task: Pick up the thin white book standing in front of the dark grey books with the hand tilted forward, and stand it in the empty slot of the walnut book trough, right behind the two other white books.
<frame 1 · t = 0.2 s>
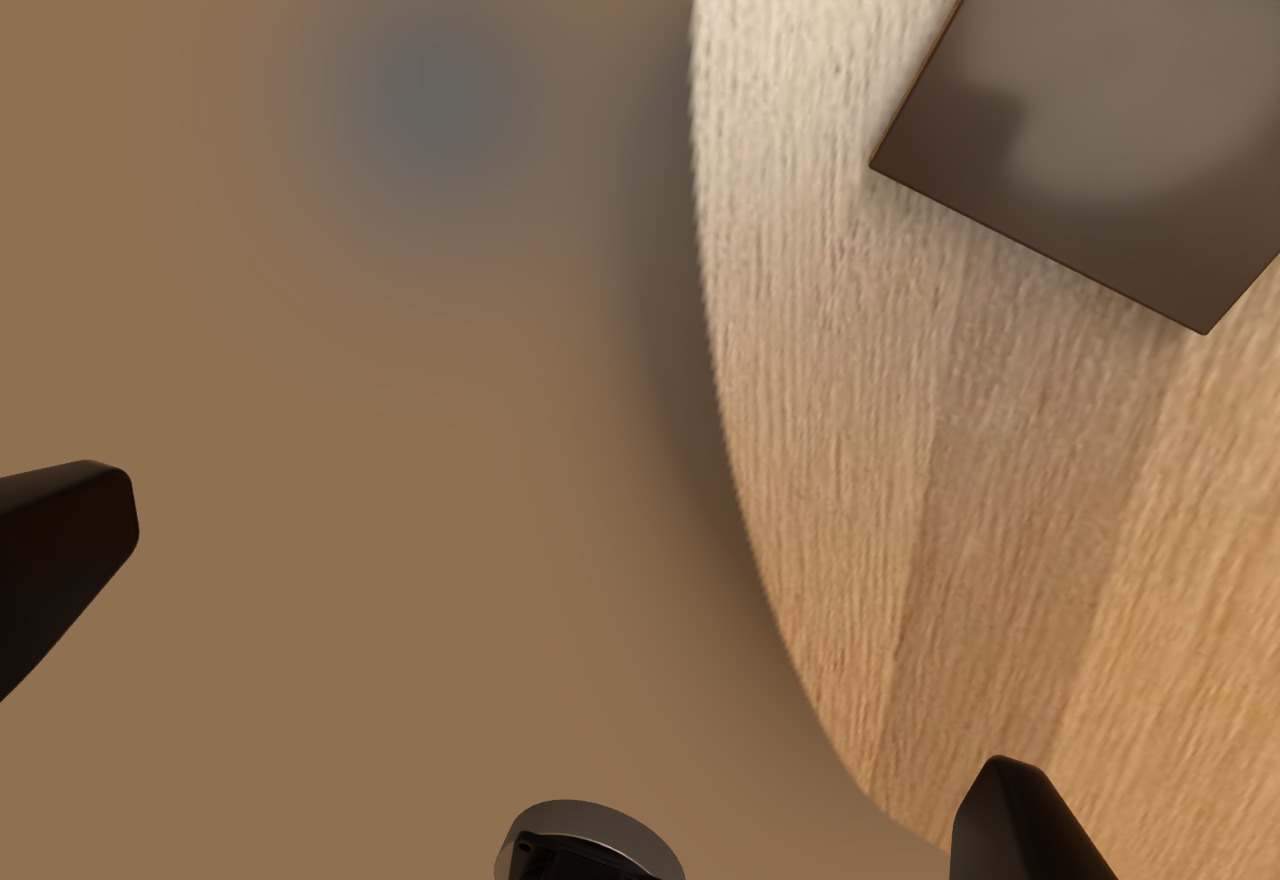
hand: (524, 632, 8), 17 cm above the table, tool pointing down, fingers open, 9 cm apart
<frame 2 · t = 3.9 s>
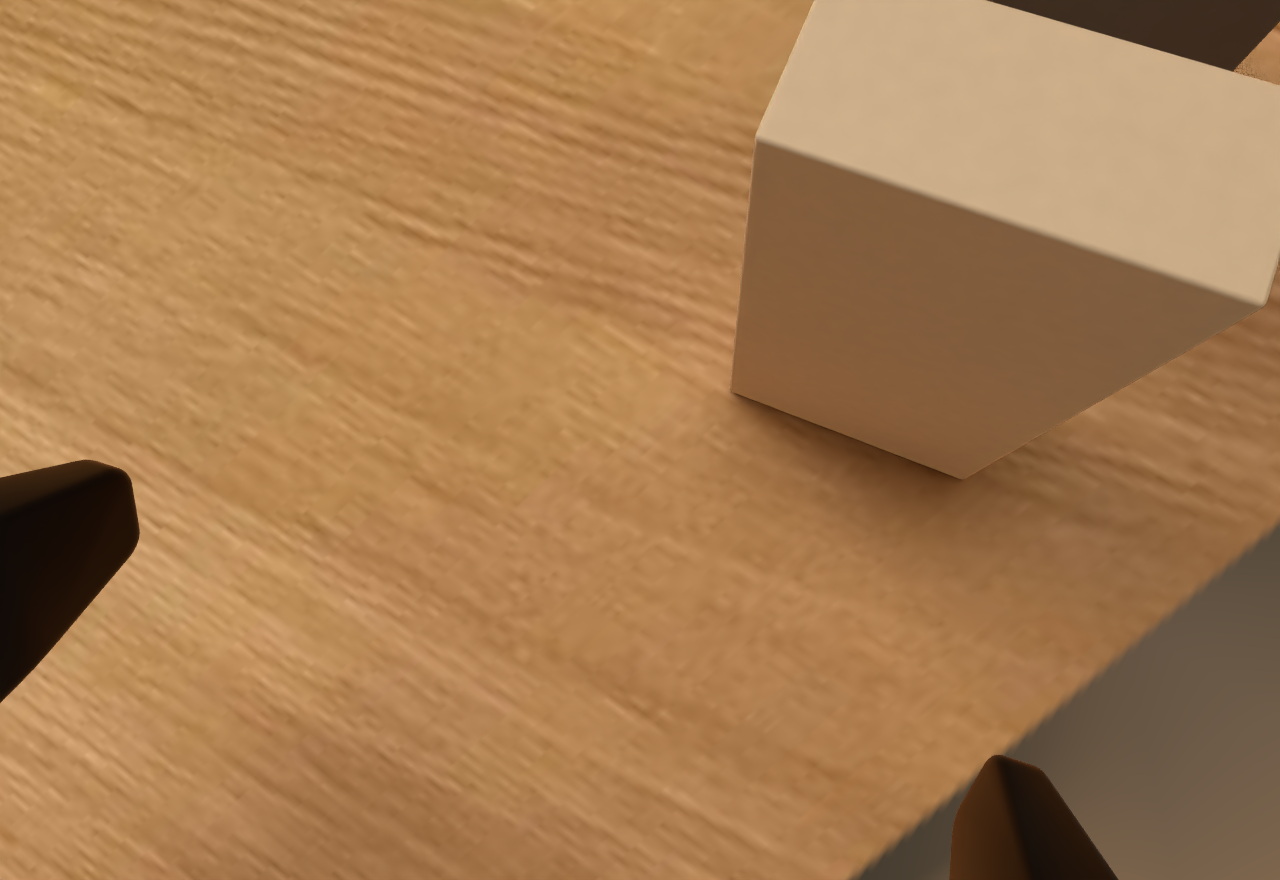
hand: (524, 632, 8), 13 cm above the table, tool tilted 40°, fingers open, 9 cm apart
grey books: (960, 132, 24), on the table
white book: (862, 384, 22), on the table
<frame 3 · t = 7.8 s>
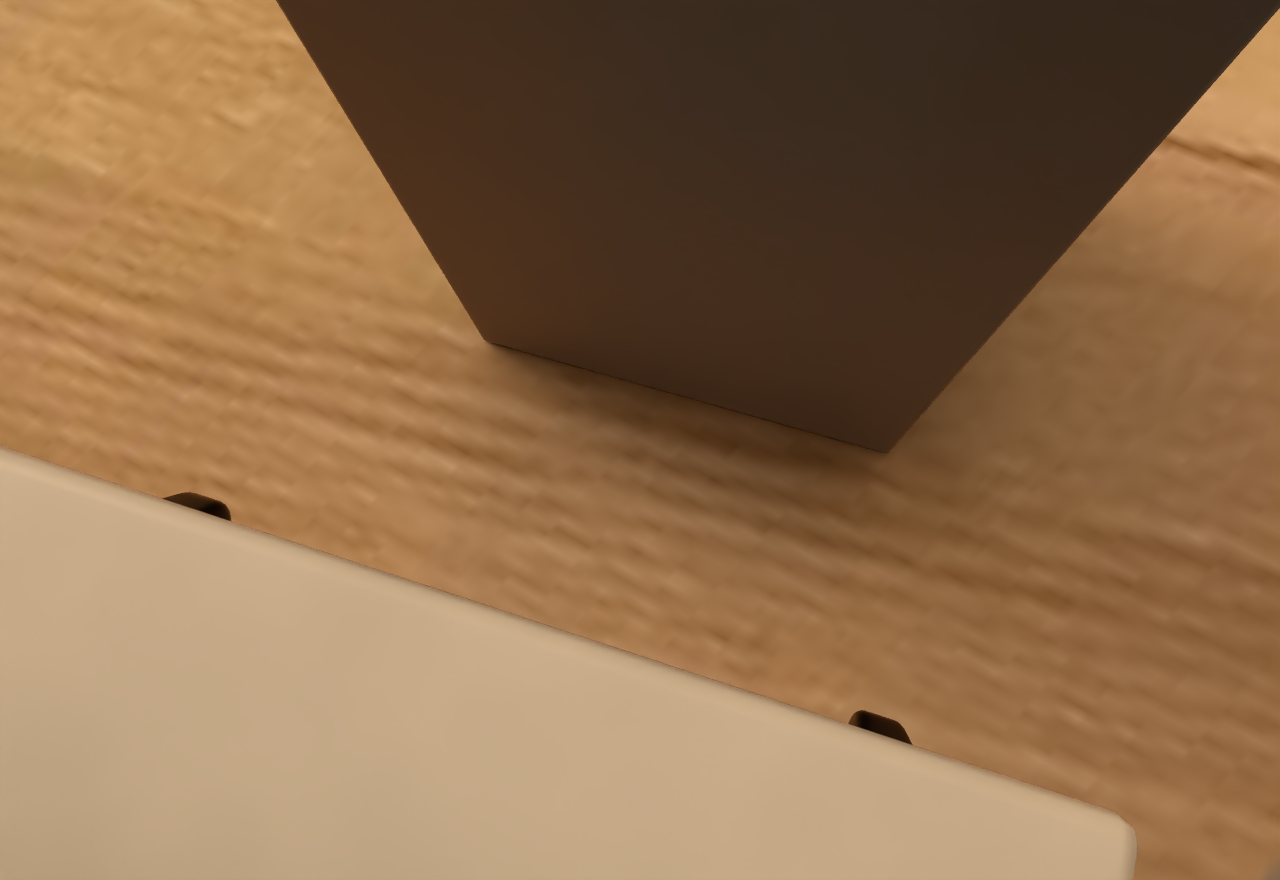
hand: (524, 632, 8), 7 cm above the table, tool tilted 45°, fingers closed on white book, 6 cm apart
grey books: (704, 316, 16), on the table
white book: (569, 731, 14), on the table, touching gripper
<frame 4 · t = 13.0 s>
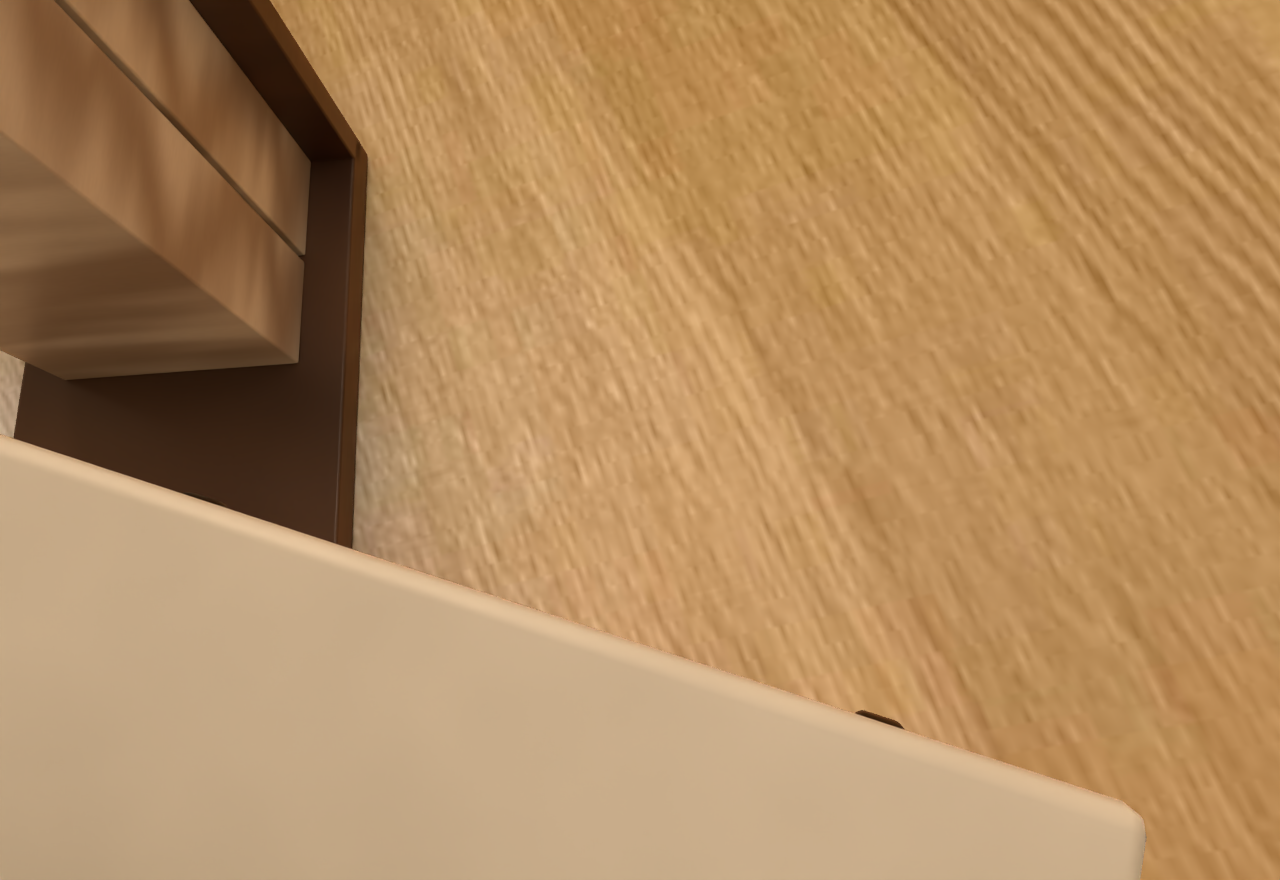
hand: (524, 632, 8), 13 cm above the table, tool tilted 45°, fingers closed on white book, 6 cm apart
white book: (571, 729, 14), point 6 cm above the table, touching gripper
book trough: (200, 401, 23), on the table
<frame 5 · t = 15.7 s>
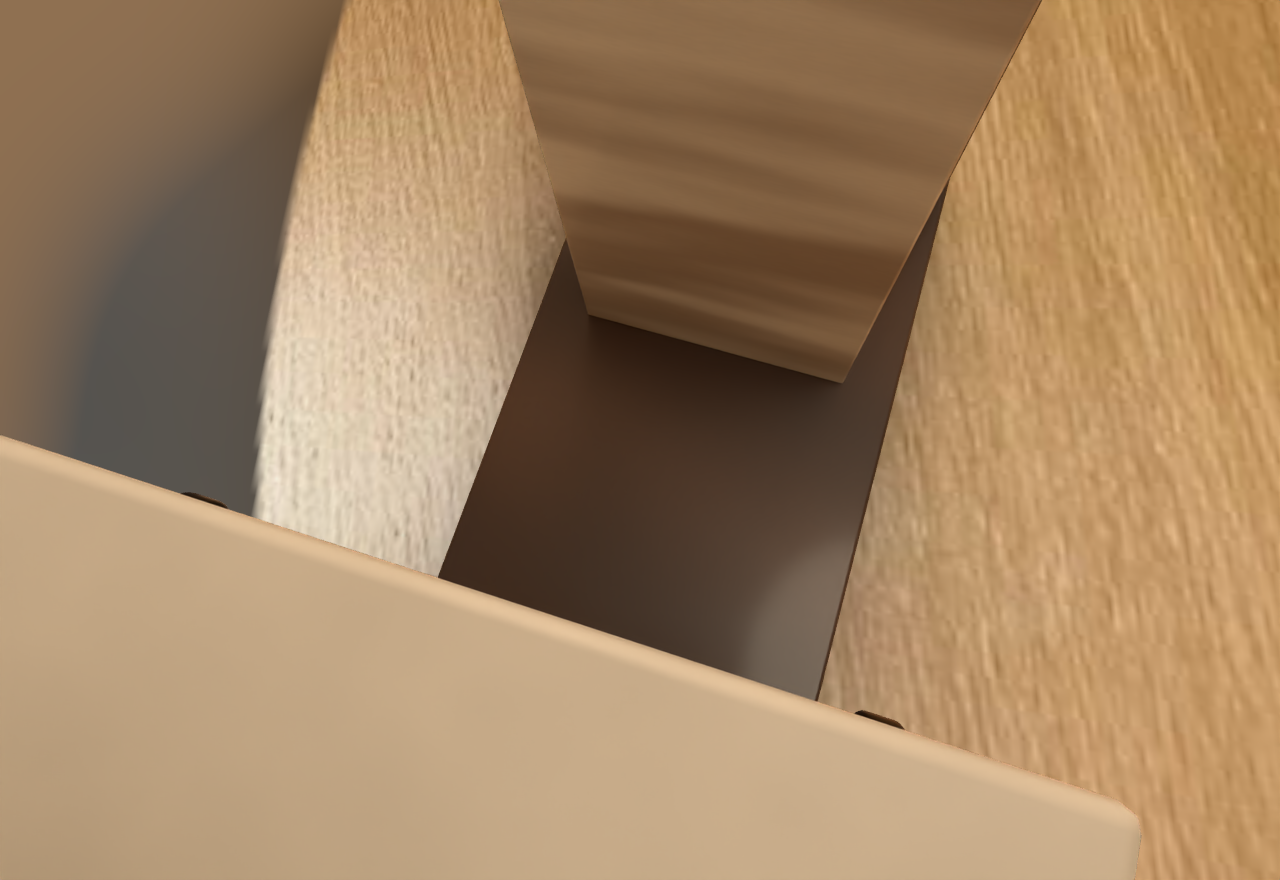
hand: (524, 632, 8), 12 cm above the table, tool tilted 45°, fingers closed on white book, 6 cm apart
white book: (570, 729, 14), point 5 cm above the table, touching gripper
book trough: (705, 381, 21), on the table
when the fingers open (8 cm above the table, at t = 18.4 s): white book stays where it is, resting on book trough.
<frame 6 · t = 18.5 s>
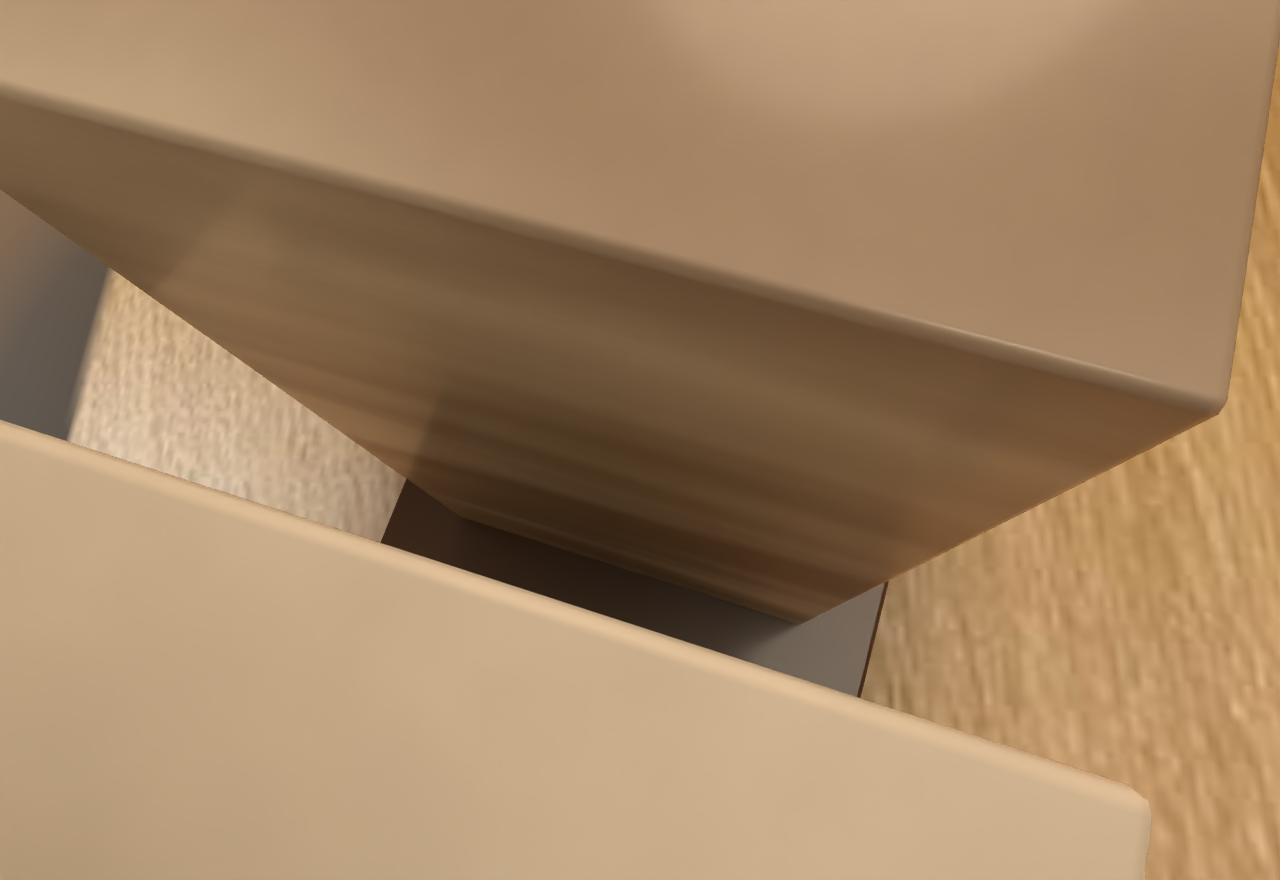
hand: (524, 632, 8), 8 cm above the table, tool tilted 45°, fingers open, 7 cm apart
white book: (567, 741, 14), point 1 cm above the table, touching book trough
book trough: (621, 601, 16), on the table
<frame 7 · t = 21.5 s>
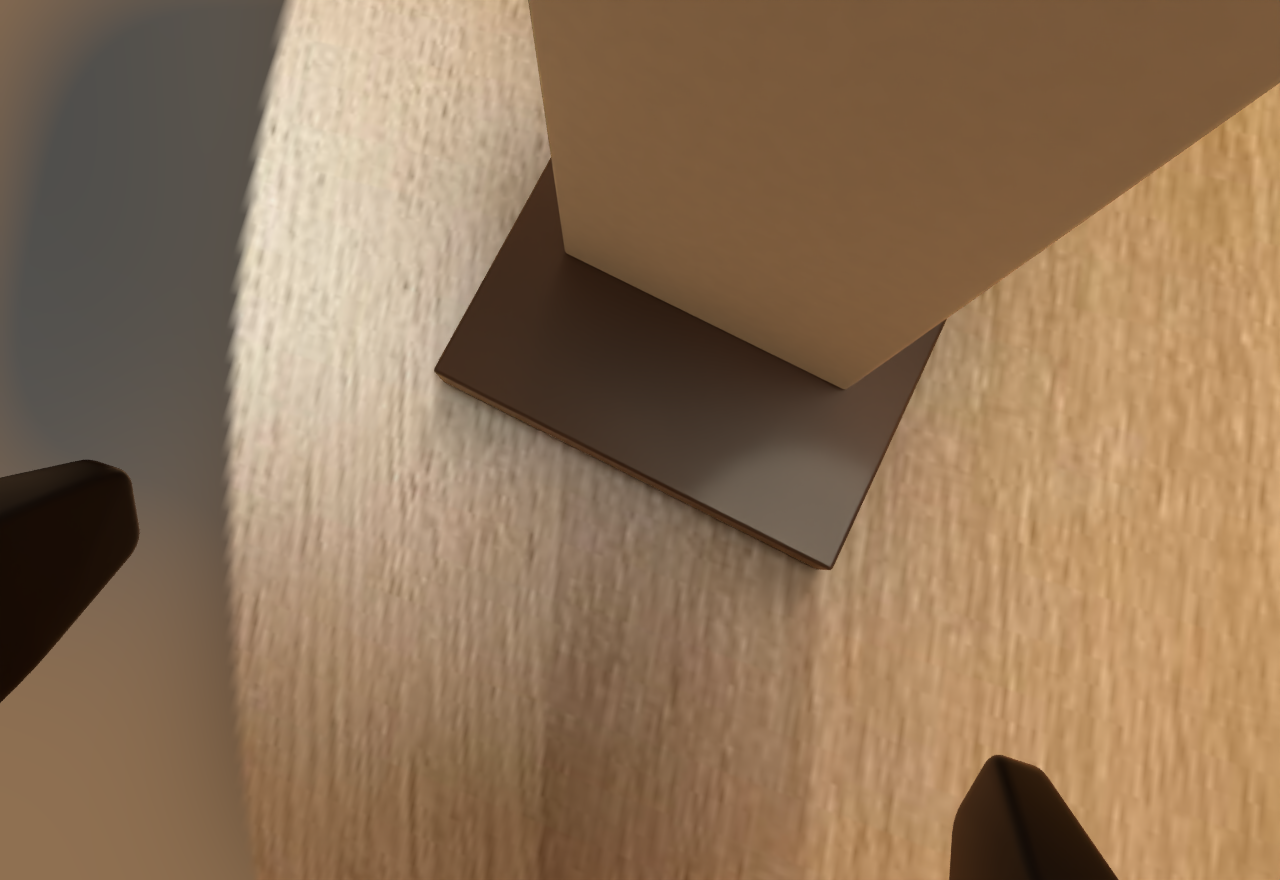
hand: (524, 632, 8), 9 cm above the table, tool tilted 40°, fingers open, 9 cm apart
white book: (734, 260, 17), point 1 cm above the table, touching book trough
book trough: (778, 179, 19), on the table
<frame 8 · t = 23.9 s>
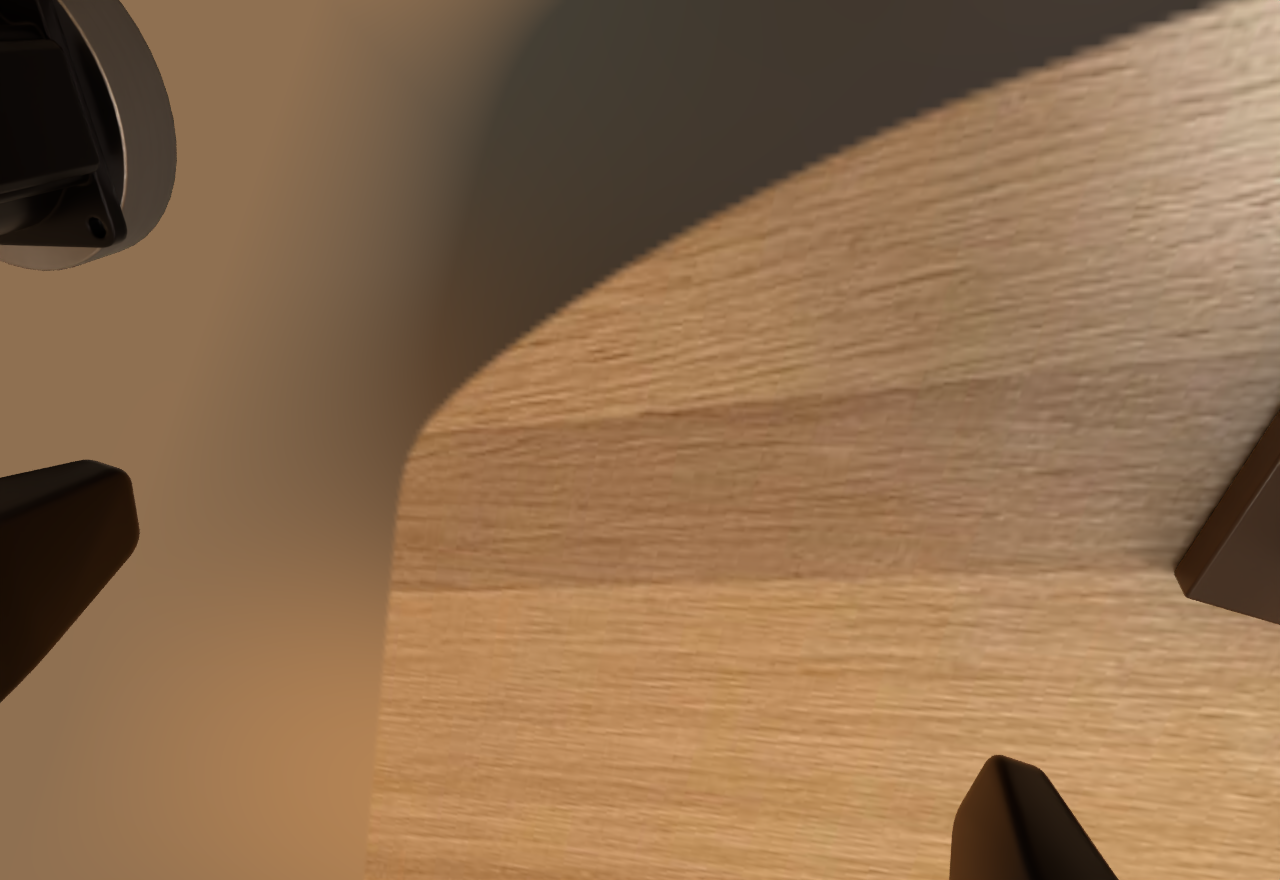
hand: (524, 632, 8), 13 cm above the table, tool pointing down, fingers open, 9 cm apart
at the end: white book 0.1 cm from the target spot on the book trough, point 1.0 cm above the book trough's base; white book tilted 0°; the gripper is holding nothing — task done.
